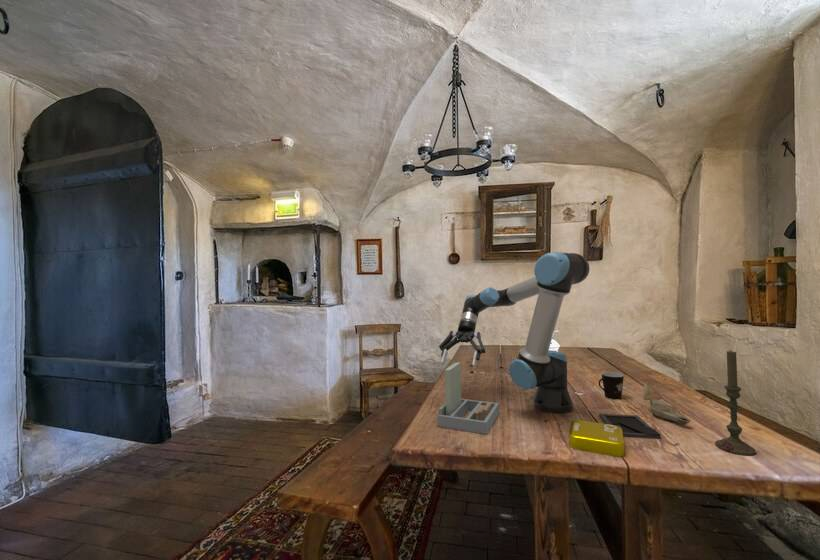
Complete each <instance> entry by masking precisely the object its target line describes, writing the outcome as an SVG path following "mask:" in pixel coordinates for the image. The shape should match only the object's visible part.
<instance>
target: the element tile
mask: <svg viewBox="0 0 820 560" xmlns="http://www.w3.org/2000/svg"><path fill="white" fill-rule="evenodd" d="M568 437H569V441H568V442H569V447H570V448H571V449H574V450H578V451H583V452H589V453H595V454H599V455H607V456H611V457H616V458H618V457H619V458H622V457H624V456H625V454H626V453H625V452H626V451H625V437H623V432H622V428H621V427H619V426H616V425H610V424H605V423H604V422H603V423H602V422H595V421H587V420H583V419H581V420H580V419H573V420H571V421H570V426H569V433H568Z"/></svg>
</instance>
